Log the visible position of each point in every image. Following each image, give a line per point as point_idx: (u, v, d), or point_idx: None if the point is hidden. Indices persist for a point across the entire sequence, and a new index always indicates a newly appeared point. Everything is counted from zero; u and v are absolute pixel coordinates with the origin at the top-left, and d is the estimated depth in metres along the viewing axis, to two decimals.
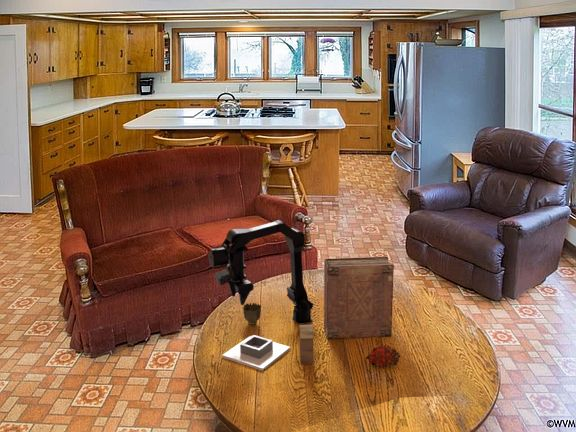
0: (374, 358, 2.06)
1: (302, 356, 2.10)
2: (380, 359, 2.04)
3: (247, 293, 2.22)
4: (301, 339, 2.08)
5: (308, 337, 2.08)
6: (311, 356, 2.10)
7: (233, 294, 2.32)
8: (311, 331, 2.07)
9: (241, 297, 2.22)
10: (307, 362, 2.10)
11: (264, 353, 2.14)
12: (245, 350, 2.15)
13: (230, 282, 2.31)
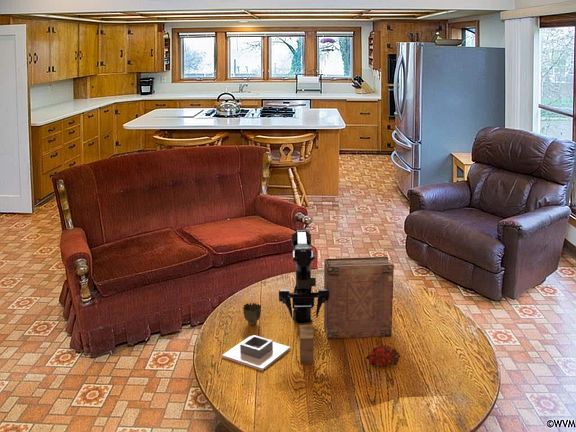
0: (374, 358, 2.06)
1: (302, 356, 2.10)
2: (380, 359, 2.04)
3: (320, 305, 2.20)
4: (301, 339, 2.08)
5: (308, 337, 2.08)
6: (311, 356, 2.10)
7: None
8: (311, 331, 2.07)
9: (319, 307, 2.17)
10: (307, 362, 2.10)
11: (264, 353, 2.14)
12: (245, 350, 2.15)
13: (290, 301, 2.18)
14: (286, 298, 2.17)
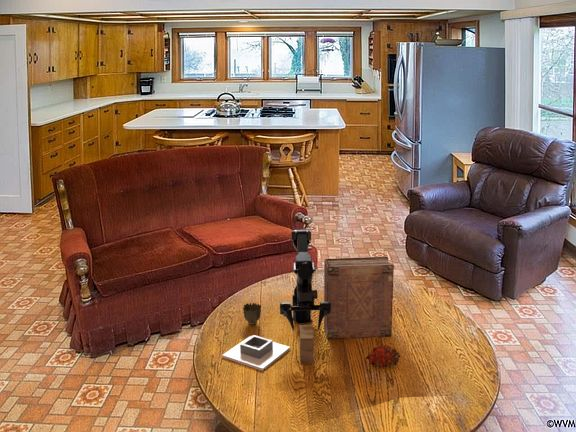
0: (374, 358, 2.06)
1: (302, 356, 2.10)
2: (380, 359, 2.04)
3: (322, 318, 2.17)
4: (301, 339, 2.08)
5: (308, 337, 2.08)
6: (311, 356, 2.10)
7: (293, 328, 2.13)
8: (311, 331, 2.07)
9: (321, 319, 2.14)
10: (307, 362, 2.10)
11: (264, 353, 2.14)
12: (245, 350, 2.15)
13: (291, 314, 2.15)
14: (287, 311, 2.14)
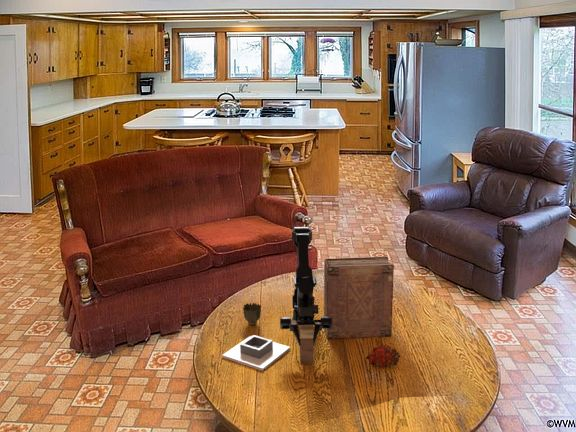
0: (374, 358, 2.06)
1: (302, 356, 2.10)
2: (380, 359, 2.04)
3: (317, 333, 2.13)
4: (301, 339, 2.08)
5: (308, 337, 2.08)
6: (311, 356, 2.10)
7: None
8: (311, 331, 2.07)
9: (316, 335, 2.11)
10: (307, 362, 2.10)
11: (264, 353, 2.14)
12: (245, 350, 2.15)
13: None
14: (294, 326, 2.10)
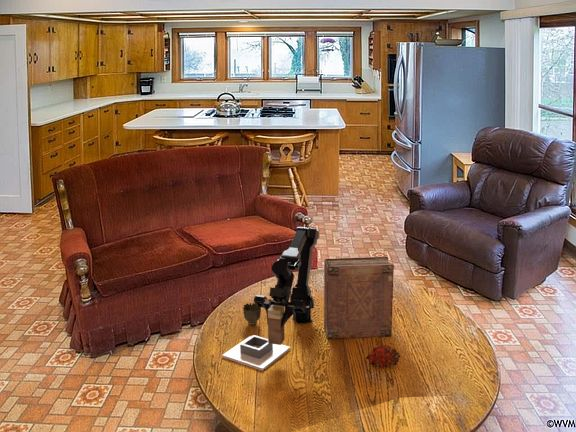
0: (374, 358, 2.06)
1: (270, 336, 2.10)
2: (380, 359, 2.04)
3: (289, 316, 2.12)
4: (268, 318, 2.08)
5: (275, 317, 2.07)
6: (278, 337, 2.09)
7: None
8: (278, 312, 2.06)
9: (286, 317, 2.09)
10: (274, 342, 2.10)
11: (264, 353, 2.14)
12: (245, 350, 2.15)
13: None
14: (265, 305, 2.11)
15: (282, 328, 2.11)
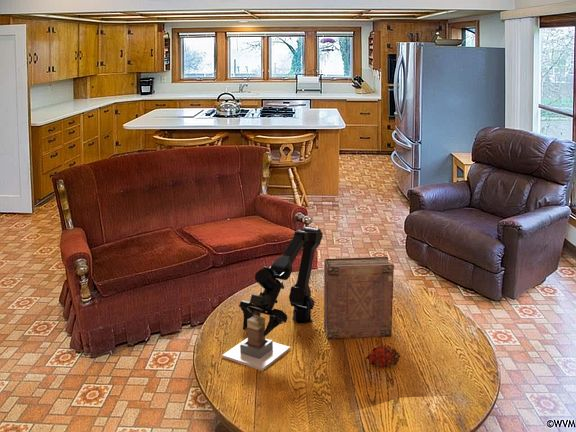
0: (374, 358, 2.06)
1: (249, 345, 2.16)
2: (380, 359, 2.04)
3: (275, 325, 2.14)
4: (248, 328, 2.14)
5: (253, 328, 2.13)
6: (256, 347, 2.14)
7: (245, 327, 2.17)
8: (256, 323, 2.12)
9: (270, 326, 2.12)
10: None
11: (264, 353, 2.14)
12: (245, 350, 2.15)
13: (248, 313, 2.18)
14: (243, 309, 2.18)
15: (261, 339, 2.15)
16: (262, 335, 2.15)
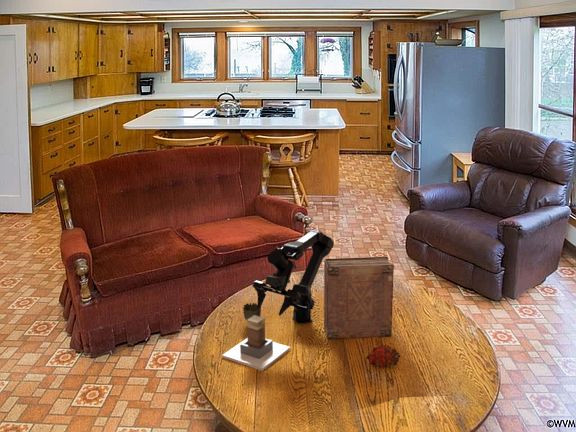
0: (374, 358, 2.06)
1: (249, 345, 2.16)
2: (380, 359, 2.04)
3: (289, 305, 2.21)
4: (248, 328, 2.14)
5: (253, 328, 2.13)
6: (256, 347, 2.14)
7: (259, 307, 2.23)
8: (256, 323, 2.12)
9: (285, 306, 2.19)
10: None
11: (264, 353, 2.14)
12: (245, 350, 2.15)
13: (261, 293, 2.24)
14: (257, 290, 2.24)
15: (261, 339, 2.15)
16: (262, 335, 2.15)
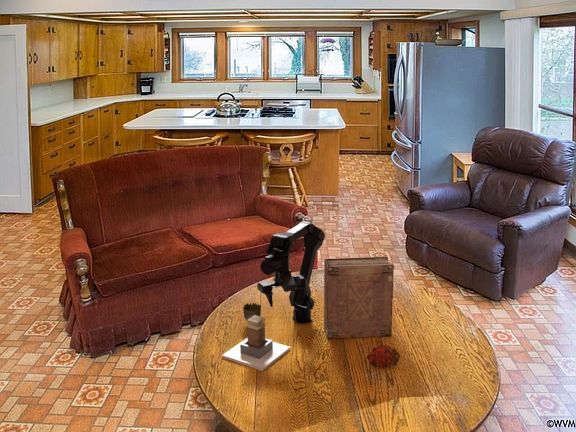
0: (374, 358, 2.06)
1: (249, 345, 2.16)
2: (380, 359, 2.04)
3: None
4: (248, 328, 2.14)
5: (253, 328, 2.13)
6: (256, 347, 2.14)
7: None
8: (256, 323, 2.12)
9: None
10: None
11: (264, 353, 2.14)
12: (245, 350, 2.15)
13: None
14: (269, 294, 2.22)
15: (261, 339, 2.15)
16: (262, 335, 2.15)
